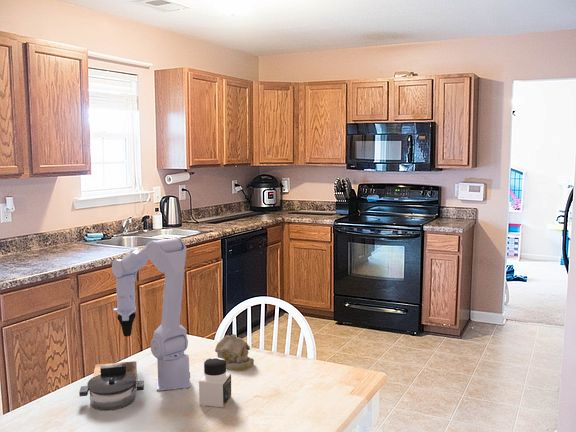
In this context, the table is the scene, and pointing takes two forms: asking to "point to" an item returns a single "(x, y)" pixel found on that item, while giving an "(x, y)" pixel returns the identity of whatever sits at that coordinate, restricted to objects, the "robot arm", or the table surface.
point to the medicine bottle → (215, 383)
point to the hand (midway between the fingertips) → (127, 335)
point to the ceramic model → (234, 353)
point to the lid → (112, 380)
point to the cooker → (117, 399)
